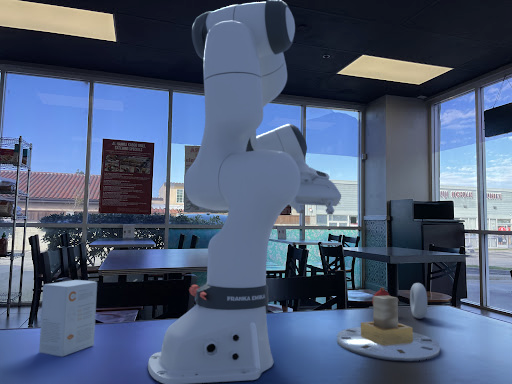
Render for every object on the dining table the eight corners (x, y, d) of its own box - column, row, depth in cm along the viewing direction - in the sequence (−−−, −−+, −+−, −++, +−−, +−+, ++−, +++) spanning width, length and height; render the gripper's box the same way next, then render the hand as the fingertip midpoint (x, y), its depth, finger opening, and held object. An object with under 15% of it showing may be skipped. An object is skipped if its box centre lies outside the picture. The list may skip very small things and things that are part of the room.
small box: (71, 341, 83) (75, 279, 84) (94, 345, 80) (98, 281, 82) (37, 352, 75) (42, 283, 76) (62, 357, 73) (66, 286, 74)
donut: (429, 322, 107) (428, 285, 108) (415, 321, 107) (415, 284, 108) (421, 315, 116) (420, 280, 117) (409, 314, 117) (408, 280, 118)
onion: (371, 312, 119) (370, 285, 120) (390, 313, 118) (390, 286, 119) (373, 316, 113) (373, 288, 114) (394, 317, 112) (394, 289, 113)
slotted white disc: (379, 366, 72) (379, 342, 72) (319, 336, 91) (319, 317, 91) (463, 354, 79) (462, 333, 80) (391, 329, 99) (390, 312, 99)
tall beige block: (383, 342, 83) (383, 298, 84) (373, 337, 86) (373, 296, 87) (398, 340, 84) (397, 297, 85) (388, 336, 87) (387, 295, 88)
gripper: (270, 169, 110) (285, 201, 100) (332, 174, 118) (352, 205, 108) (264, 186, 114) (278, 219, 104) (324, 190, 121) (342, 221, 111)
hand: (316, 212), depth 106 cm, fingers open, 8 cm apart
